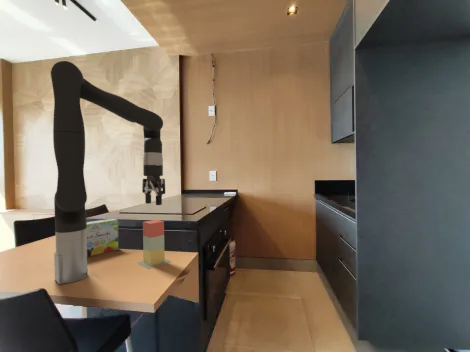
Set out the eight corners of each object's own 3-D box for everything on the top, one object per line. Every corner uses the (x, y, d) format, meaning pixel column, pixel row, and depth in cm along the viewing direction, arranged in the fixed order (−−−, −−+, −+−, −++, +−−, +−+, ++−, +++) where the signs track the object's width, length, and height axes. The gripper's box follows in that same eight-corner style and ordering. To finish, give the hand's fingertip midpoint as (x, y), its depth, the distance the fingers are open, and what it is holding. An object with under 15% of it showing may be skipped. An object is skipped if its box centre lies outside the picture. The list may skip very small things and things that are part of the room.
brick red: (150, 237, 94) (150, 223, 94) (143, 235, 98) (142, 221, 98) (164, 234, 98) (163, 221, 98) (156, 232, 102) (156, 219, 102)
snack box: (69, 262, 102) (69, 226, 102) (64, 259, 106) (64, 225, 106) (119, 249, 119) (118, 218, 119) (113, 247, 123) (112, 217, 123)
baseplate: (148, 270, 91) (148, 268, 91) (136, 264, 98) (136, 262, 98) (171, 263, 98) (171, 261, 98) (158, 258, 105) (158, 256, 105)
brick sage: (150, 251, 94) (150, 237, 94) (143, 248, 98) (143, 235, 98) (164, 248, 98) (164, 234, 98) (156, 245, 102) (156, 232, 102)
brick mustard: (150, 266, 94) (150, 251, 94) (143, 262, 98) (143, 248, 98) (164, 261, 98) (164, 248, 98) (157, 258, 102) (156, 245, 102)
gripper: (136, 164, 100) (136, 203, 100) (153, 163, 91) (153, 206, 90) (153, 165, 106) (153, 202, 106) (170, 164, 96) (171, 204, 96)
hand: (153, 204), depth 98 cm, fingers open, 8 cm apart
